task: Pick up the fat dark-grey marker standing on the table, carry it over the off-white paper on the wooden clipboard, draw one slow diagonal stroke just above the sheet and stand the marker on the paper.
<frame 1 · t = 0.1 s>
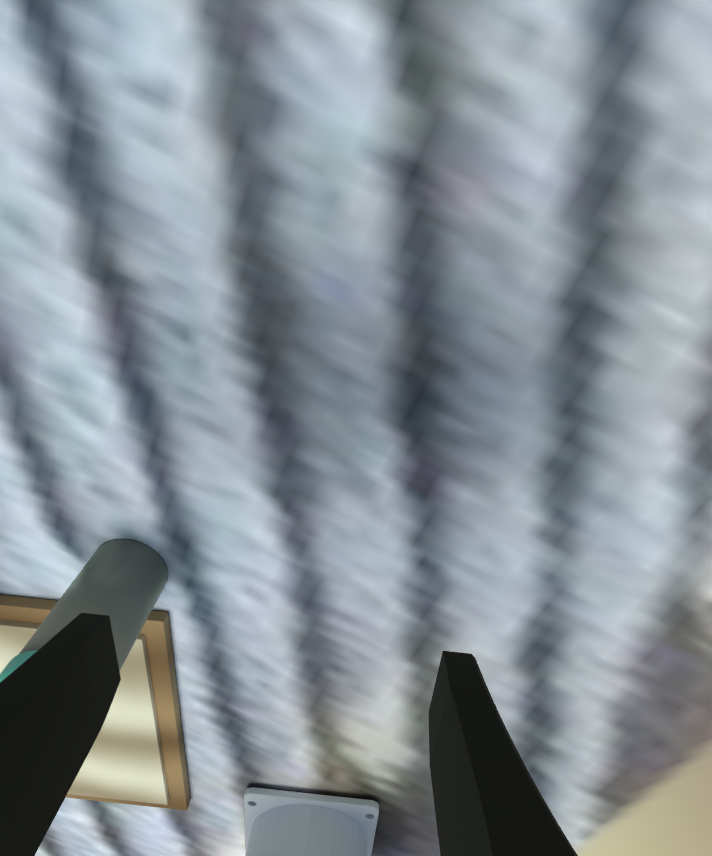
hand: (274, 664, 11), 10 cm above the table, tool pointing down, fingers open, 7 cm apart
clipboard: (9, 699, 29), on the table
marker: (131, 568, 24), on the table
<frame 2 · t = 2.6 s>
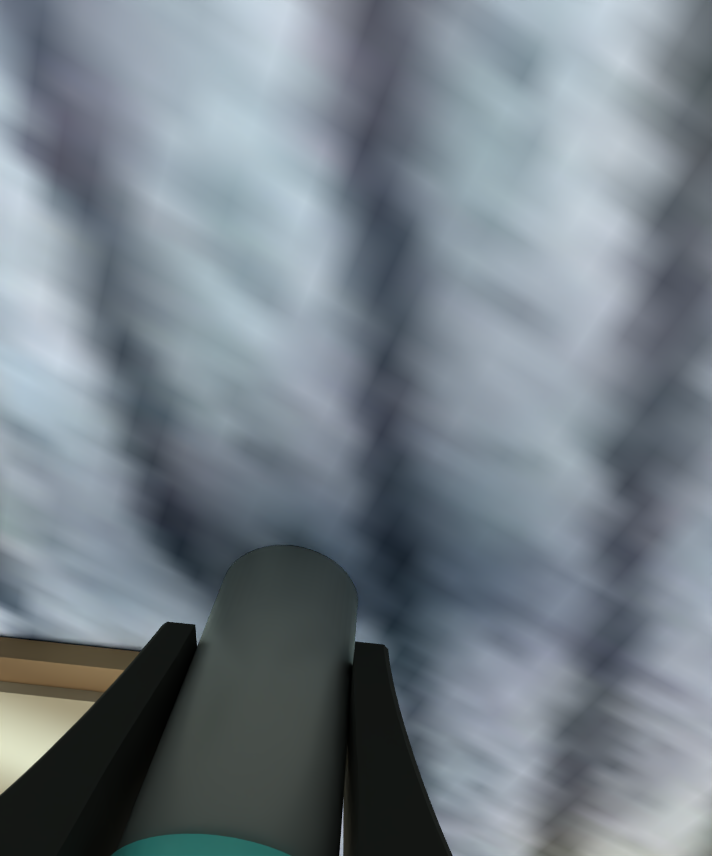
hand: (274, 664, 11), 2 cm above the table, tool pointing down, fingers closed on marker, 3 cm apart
clipboard: (50, 800, 18), on the table
marker: (289, 599, 13), on the table, touching gripper
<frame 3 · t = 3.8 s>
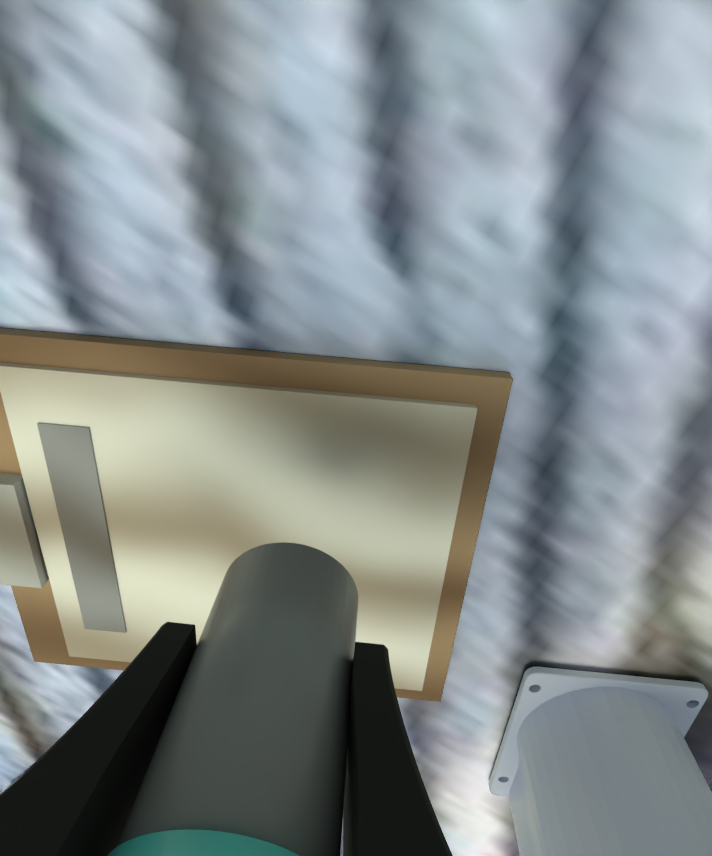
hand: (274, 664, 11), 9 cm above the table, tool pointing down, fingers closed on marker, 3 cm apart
clipboard: (233, 536, 21), on the table
marker: (290, 596, 13), point 7 cm above the table, touching gripper
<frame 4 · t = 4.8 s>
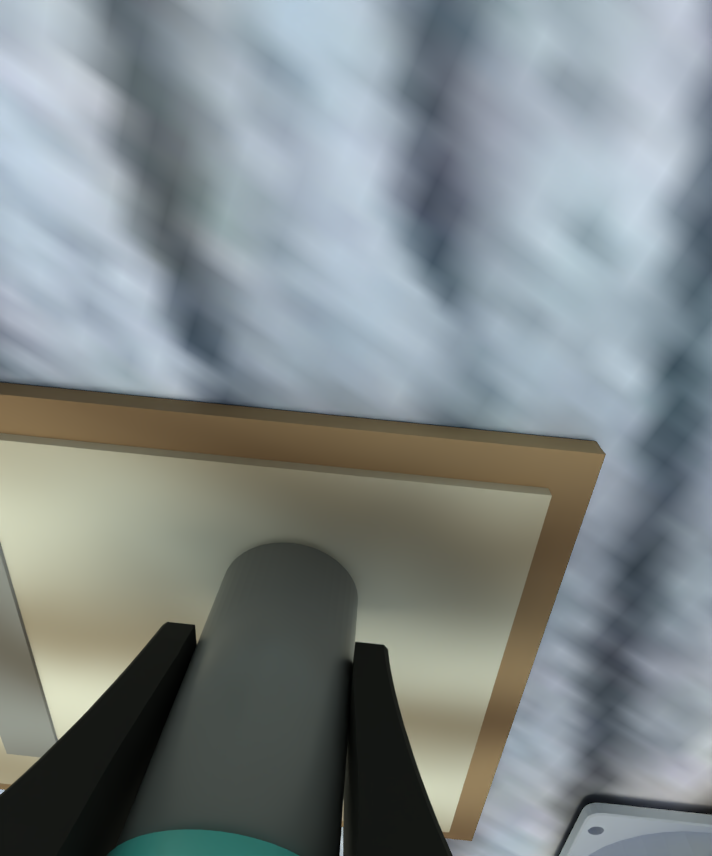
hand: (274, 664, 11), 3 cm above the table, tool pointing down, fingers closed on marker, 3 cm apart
clipboard: (201, 642, 16), on the table
marker: (290, 596, 13), point 1 cm above the table, touching gripper
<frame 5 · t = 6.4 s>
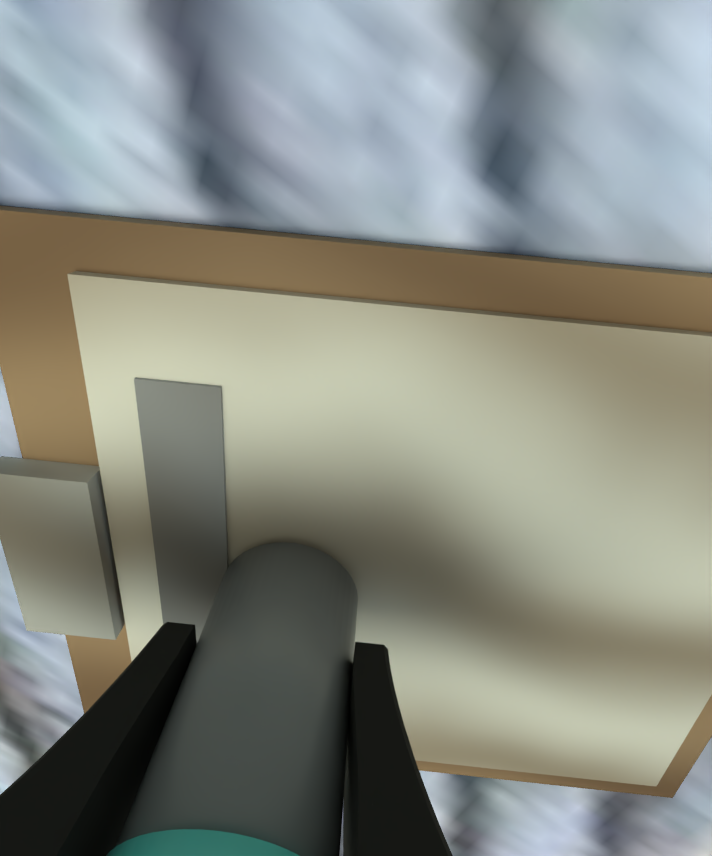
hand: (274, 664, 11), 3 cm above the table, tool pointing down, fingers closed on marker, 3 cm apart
clipboard: (410, 564, 14), on the table
marker: (289, 596, 13), point 1 cm above the table, touching gripper
when the fingers open (3 cm above the table, at t = 7.4 s): marker stays where it is, resting on clipboard.
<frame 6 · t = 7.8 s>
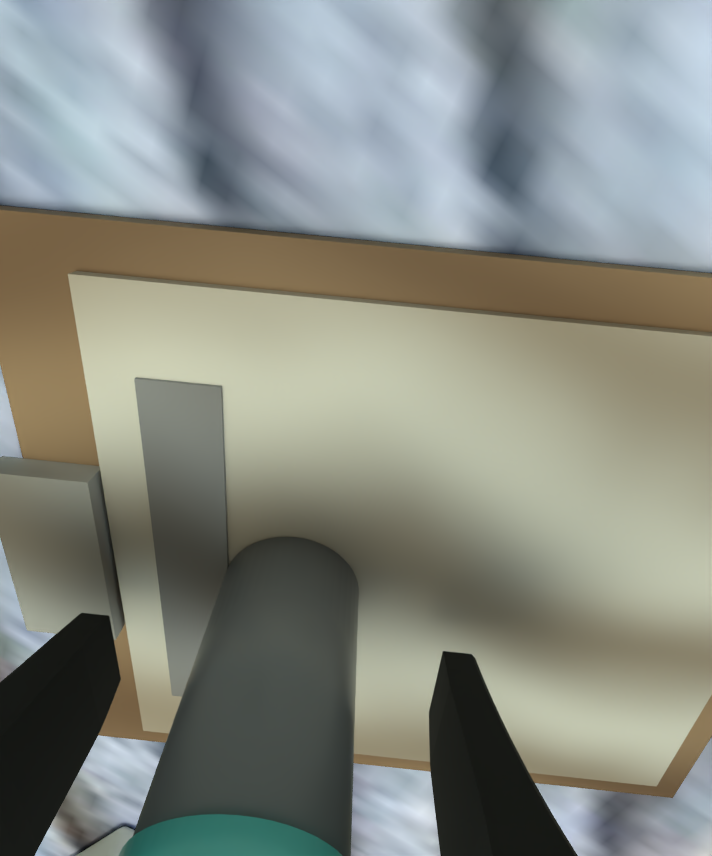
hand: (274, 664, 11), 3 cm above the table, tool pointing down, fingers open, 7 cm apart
clipboard: (410, 564, 14), on the table
marker: (291, 590, 13), point 1 cm above the table, touching clipboard
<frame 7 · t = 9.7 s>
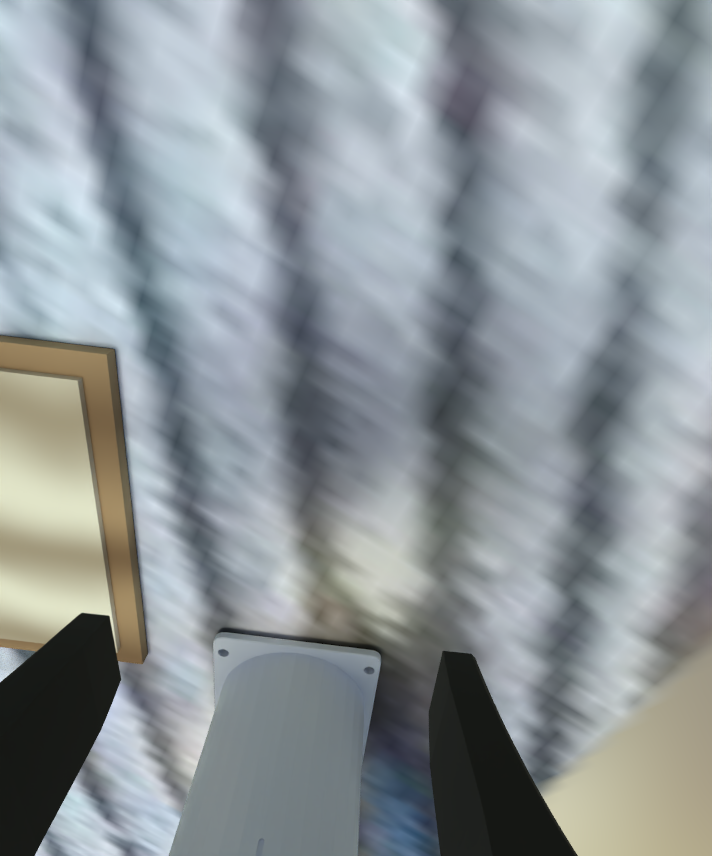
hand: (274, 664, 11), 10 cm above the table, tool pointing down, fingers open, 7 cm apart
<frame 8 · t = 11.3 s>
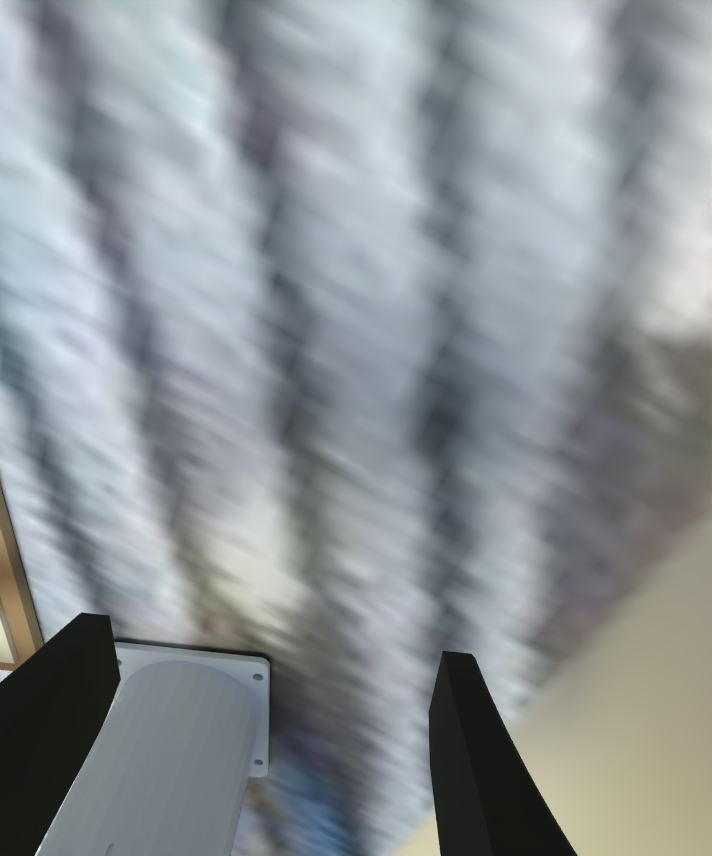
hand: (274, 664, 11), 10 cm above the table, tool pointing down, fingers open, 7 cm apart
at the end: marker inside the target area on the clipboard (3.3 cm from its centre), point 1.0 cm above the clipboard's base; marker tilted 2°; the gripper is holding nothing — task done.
